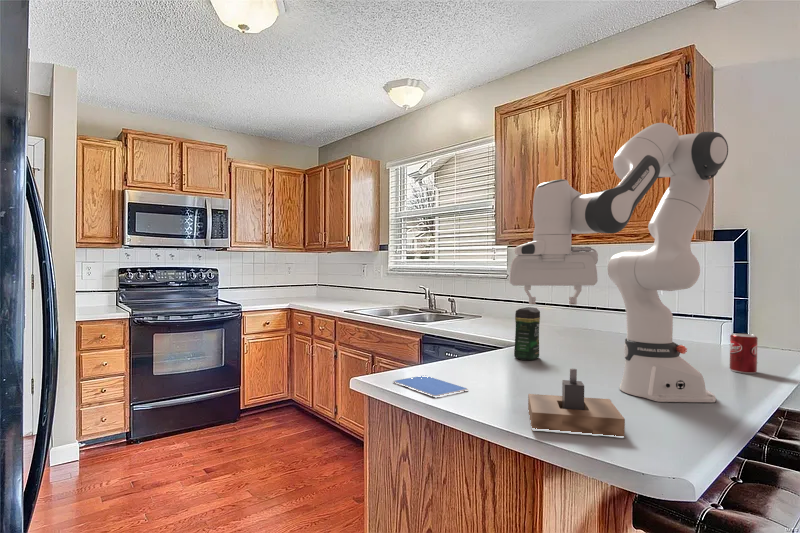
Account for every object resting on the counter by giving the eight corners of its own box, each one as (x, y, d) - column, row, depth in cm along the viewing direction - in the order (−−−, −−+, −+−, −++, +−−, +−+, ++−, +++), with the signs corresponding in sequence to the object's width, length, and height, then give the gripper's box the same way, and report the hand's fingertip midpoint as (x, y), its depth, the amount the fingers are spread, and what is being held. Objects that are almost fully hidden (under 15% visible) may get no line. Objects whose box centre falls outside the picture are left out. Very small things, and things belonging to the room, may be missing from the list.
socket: (609, 416, 109) (609, 399, 109) (624, 438, 96) (624, 419, 96) (528, 410, 113) (528, 393, 113) (531, 431, 99) (532, 412, 99)
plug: (580, 421, 106) (581, 367, 106) (583, 427, 102) (584, 371, 102) (561, 419, 107) (562, 366, 107) (564, 426, 103) (564, 370, 103)
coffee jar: (532, 362, 167) (533, 309, 167) (511, 358, 172) (511, 307, 171) (542, 357, 175) (543, 307, 174) (522, 354, 179) (522, 305, 179)
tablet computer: (391, 384, 138) (391, 380, 138) (425, 378, 145) (425, 374, 145) (434, 401, 122) (434, 396, 122) (470, 393, 129) (470, 388, 129)
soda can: (732, 373, 153) (733, 335, 153) (726, 368, 160) (727, 332, 160) (760, 375, 150) (760, 337, 150) (752, 370, 157) (753, 334, 157)
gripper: (594, 246, 116) (595, 303, 116) (508, 248, 120) (509, 302, 120) (600, 246, 110) (600, 306, 110) (510, 247, 114) (510, 305, 114)
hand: (552, 304), depth 115 cm, fingers open, 8 cm apart
